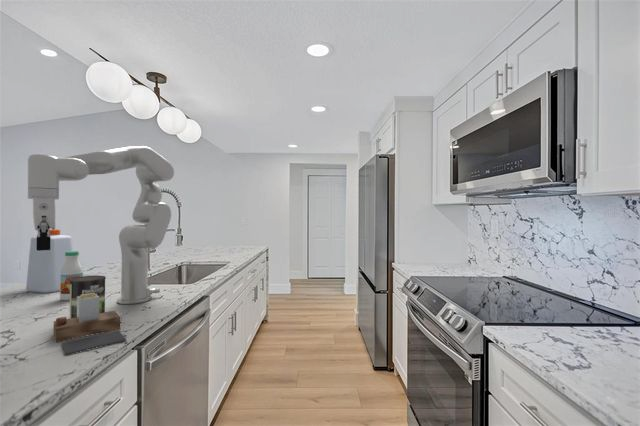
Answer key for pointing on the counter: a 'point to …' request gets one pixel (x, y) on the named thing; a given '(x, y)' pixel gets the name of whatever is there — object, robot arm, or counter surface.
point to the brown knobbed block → (85, 326)
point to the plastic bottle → (47, 263)
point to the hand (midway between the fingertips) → (43, 248)
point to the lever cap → (87, 307)
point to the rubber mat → (92, 342)
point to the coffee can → (86, 291)
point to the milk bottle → (69, 273)
